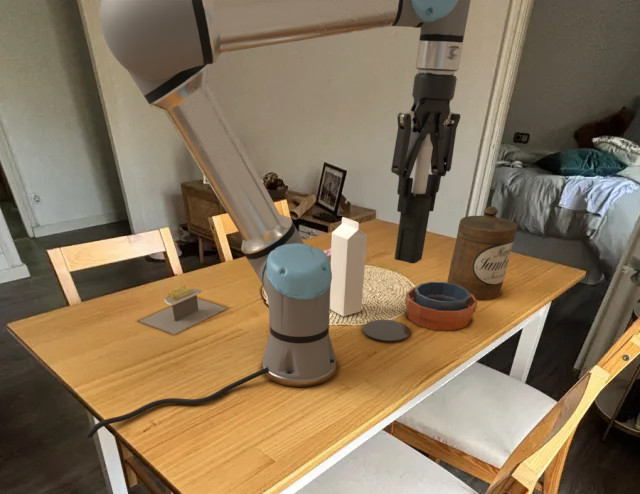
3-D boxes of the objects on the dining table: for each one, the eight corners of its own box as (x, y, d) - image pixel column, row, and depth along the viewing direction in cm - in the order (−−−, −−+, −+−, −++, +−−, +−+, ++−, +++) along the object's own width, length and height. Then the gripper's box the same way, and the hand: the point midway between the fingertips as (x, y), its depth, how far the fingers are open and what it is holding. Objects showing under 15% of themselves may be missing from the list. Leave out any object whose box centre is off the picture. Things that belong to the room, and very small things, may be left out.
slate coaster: (380, 346, 107) (381, 344, 107) (353, 327, 115) (354, 325, 114) (419, 336, 112) (419, 334, 112) (390, 318, 119) (391, 316, 119)
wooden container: (480, 304, 127) (501, 217, 114) (435, 287, 136) (450, 205, 123) (510, 291, 135) (533, 208, 122) (466, 276, 144) (483, 197, 131)
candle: (423, 258, 106) (446, 125, 91) (414, 264, 103) (436, 127, 87) (402, 253, 108) (421, 123, 93) (392, 259, 105) (410, 124, 89)
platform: (138, 321, 115) (133, 294, 111) (193, 297, 127) (189, 272, 123) (174, 334, 110) (169, 307, 106) (227, 308, 122) (224, 283, 118)
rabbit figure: (338, 255, 161) (315, 259, 149) (340, 236, 158) (317, 239, 146) (354, 258, 159) (332, 263, 147) (357, 239, 156) (335, 243, 144)
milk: (343, 317, 119) (348, 224, 106) (328, 308, 123) (331, 218, 110) (361, 311, 122) (369, 220, 109) (346, 303, 126) (351, 214, 113)
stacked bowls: (434, 336, 112) (439, 310, 108) (391, 310, 123) (394, 285, 119) (486, 322, 119) (492, 297, 115) (440, 298, 130) (445, 275, 126)
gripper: (408, 71, 79) (389, 219, 93) (489, 75, 87) (461, 211, 101) (381, 70, 84) (367, 210, 98) (460, 73, 92) (437, 203, 106)
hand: (415, 210), depth 99 cm, fingers closed on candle, 6 cm apart
